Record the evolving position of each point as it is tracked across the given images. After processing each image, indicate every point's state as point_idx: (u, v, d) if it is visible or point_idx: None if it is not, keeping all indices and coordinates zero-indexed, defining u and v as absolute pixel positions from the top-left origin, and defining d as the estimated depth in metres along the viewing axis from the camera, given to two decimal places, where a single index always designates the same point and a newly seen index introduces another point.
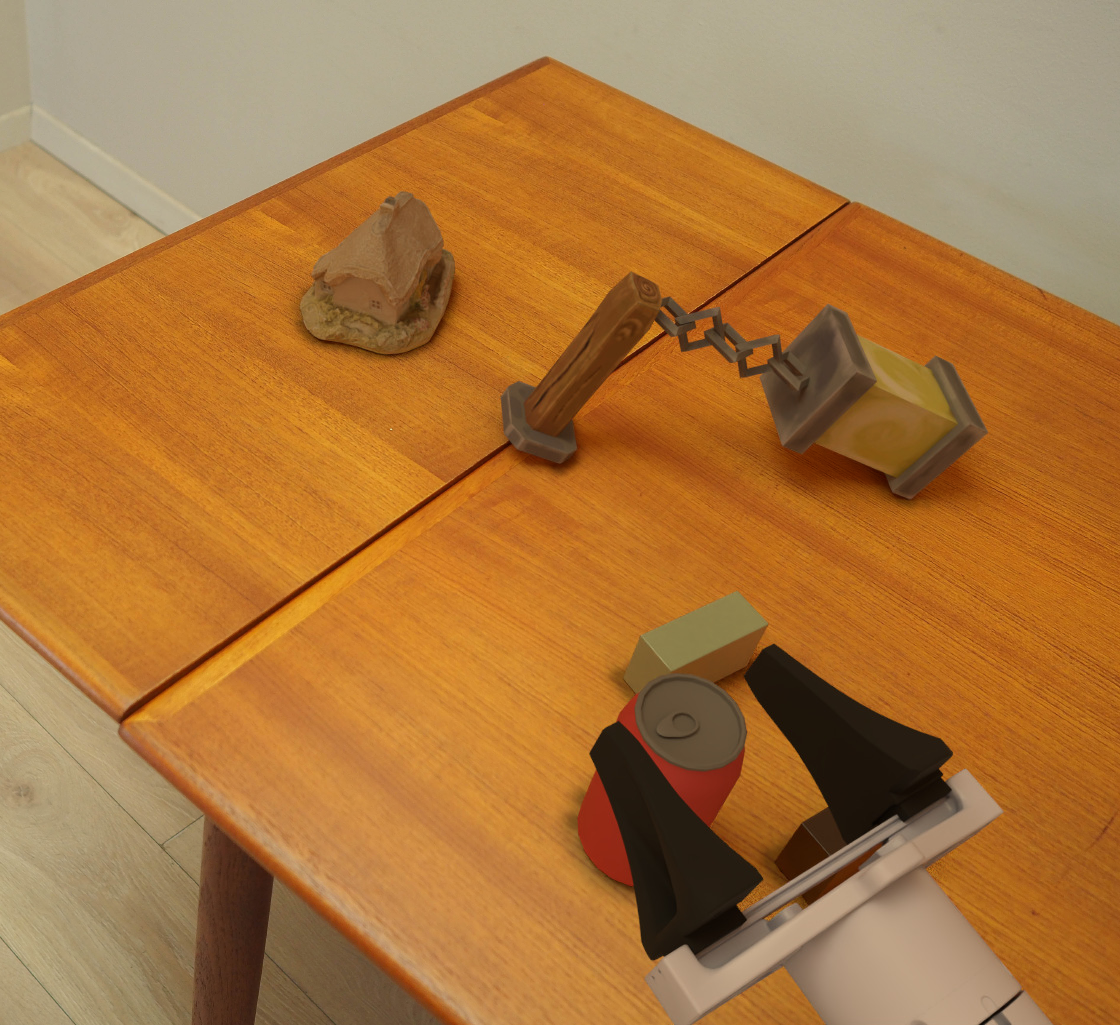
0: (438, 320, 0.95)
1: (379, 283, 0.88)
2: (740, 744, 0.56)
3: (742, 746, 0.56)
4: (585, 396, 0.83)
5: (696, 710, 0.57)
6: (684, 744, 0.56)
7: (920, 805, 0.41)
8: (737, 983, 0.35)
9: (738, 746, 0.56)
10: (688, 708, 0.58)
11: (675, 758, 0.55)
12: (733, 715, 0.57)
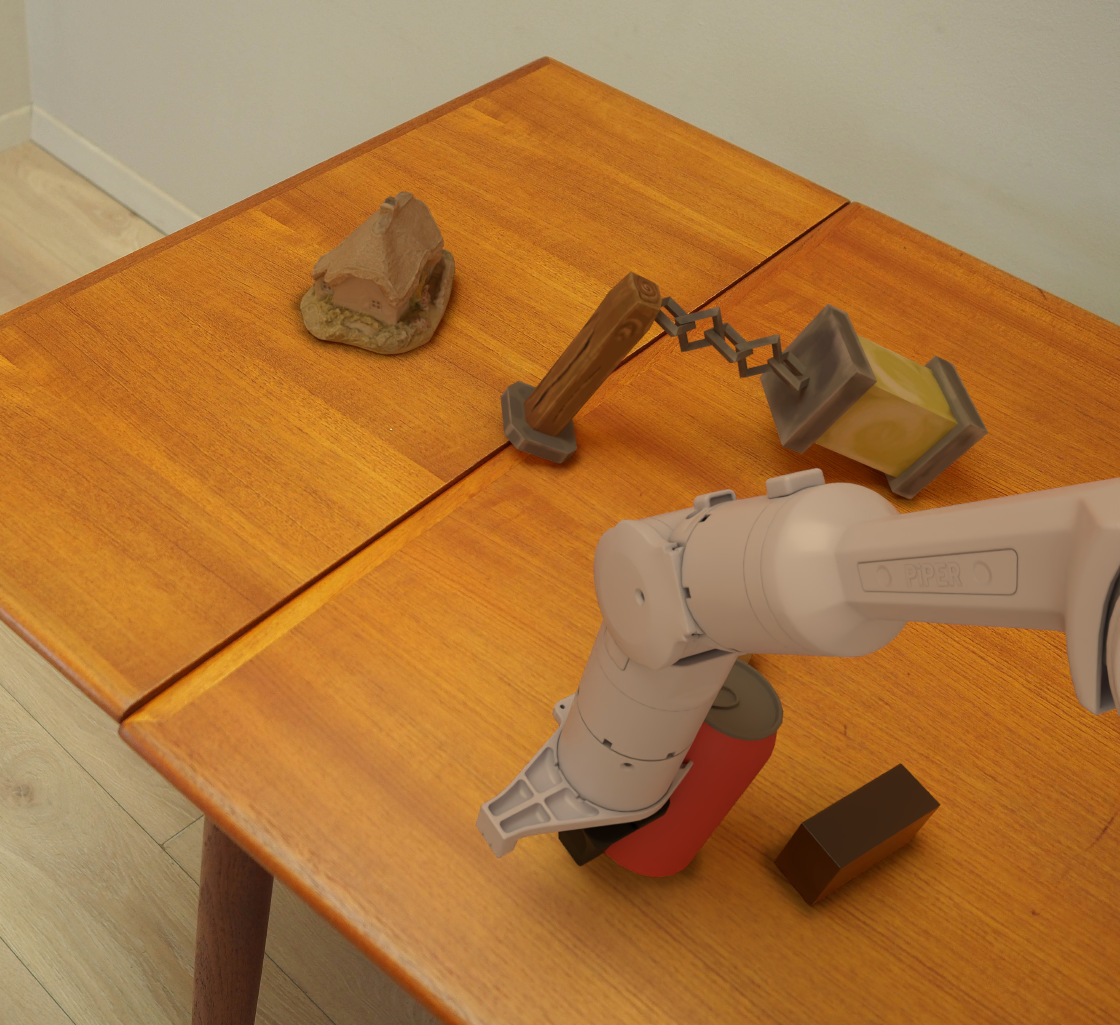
0: (438, 320, 0.95)
1: (379, 283, 0.88)
2: (778, 719, 0.57)
3: (781, 722, 0.57)
4: (585, 396, 0.83)
5: (734, 687, 0.58)
6: (726, 714, 0.57)
7: None
8: None
9: (777, 721, 0.57)
10: (727, 684, 0.58)
11: (721, 724, 0.56)
12: (768, 695, 0.59)
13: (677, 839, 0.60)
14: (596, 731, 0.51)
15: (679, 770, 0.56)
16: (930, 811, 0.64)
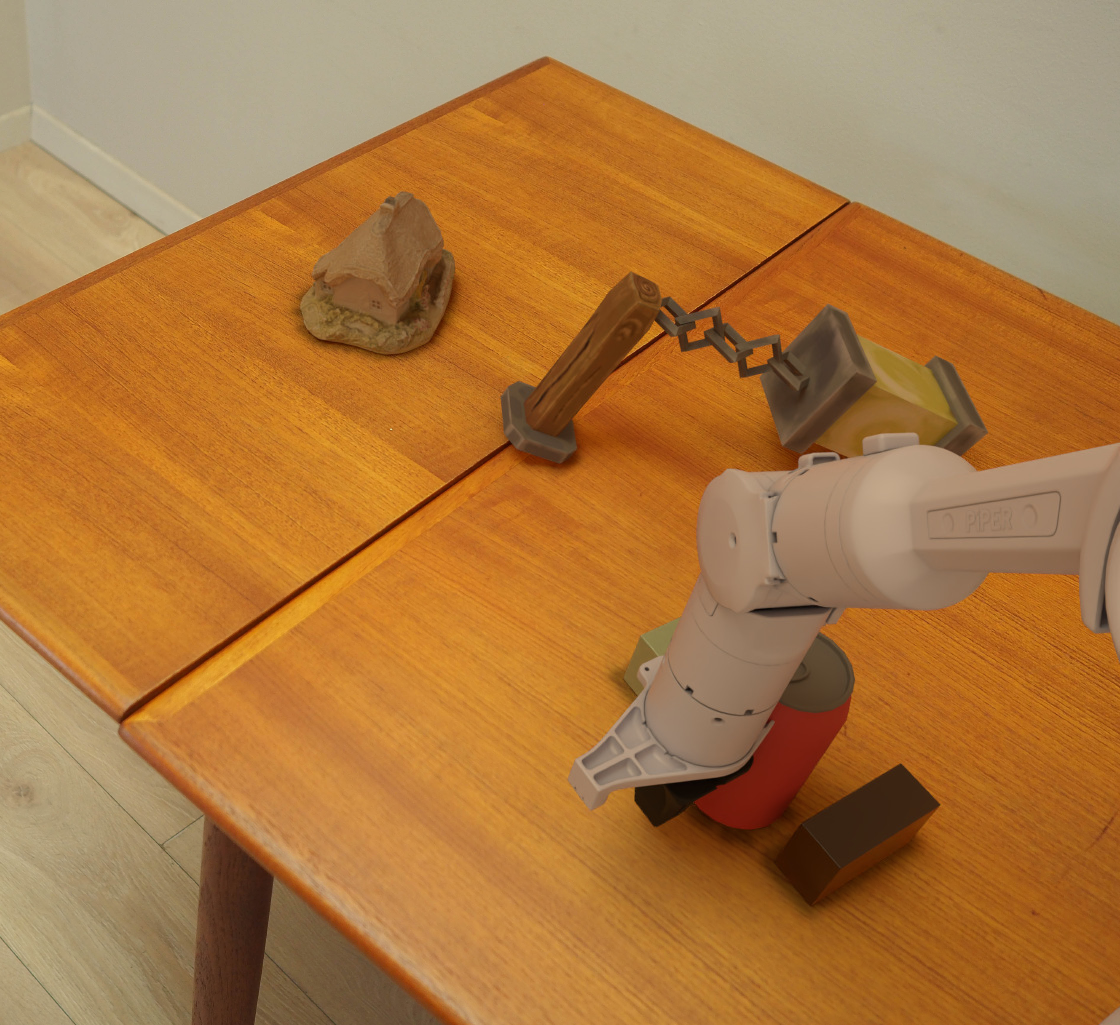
0: (438, 320, 0.95)
1: (379, 283, 0.88)
2: (849, 689, 0.59)
3: (851, 691, 0.59)
4: (585, 396, 0.83)
5: (805, 658, 0.61)
6: (795, 688, 0.59)
7: None
8: (596, 744, 0.57)
9: (847, 691, 0.59)
10: None
11: (788, 699, 0.58)
12: (841, 663, 0.61)
13: (762, 798, 0.63)
14: (680, 677, 0.54)
15: (761, 729, 0.59)
16: (930, 811, 0.64)
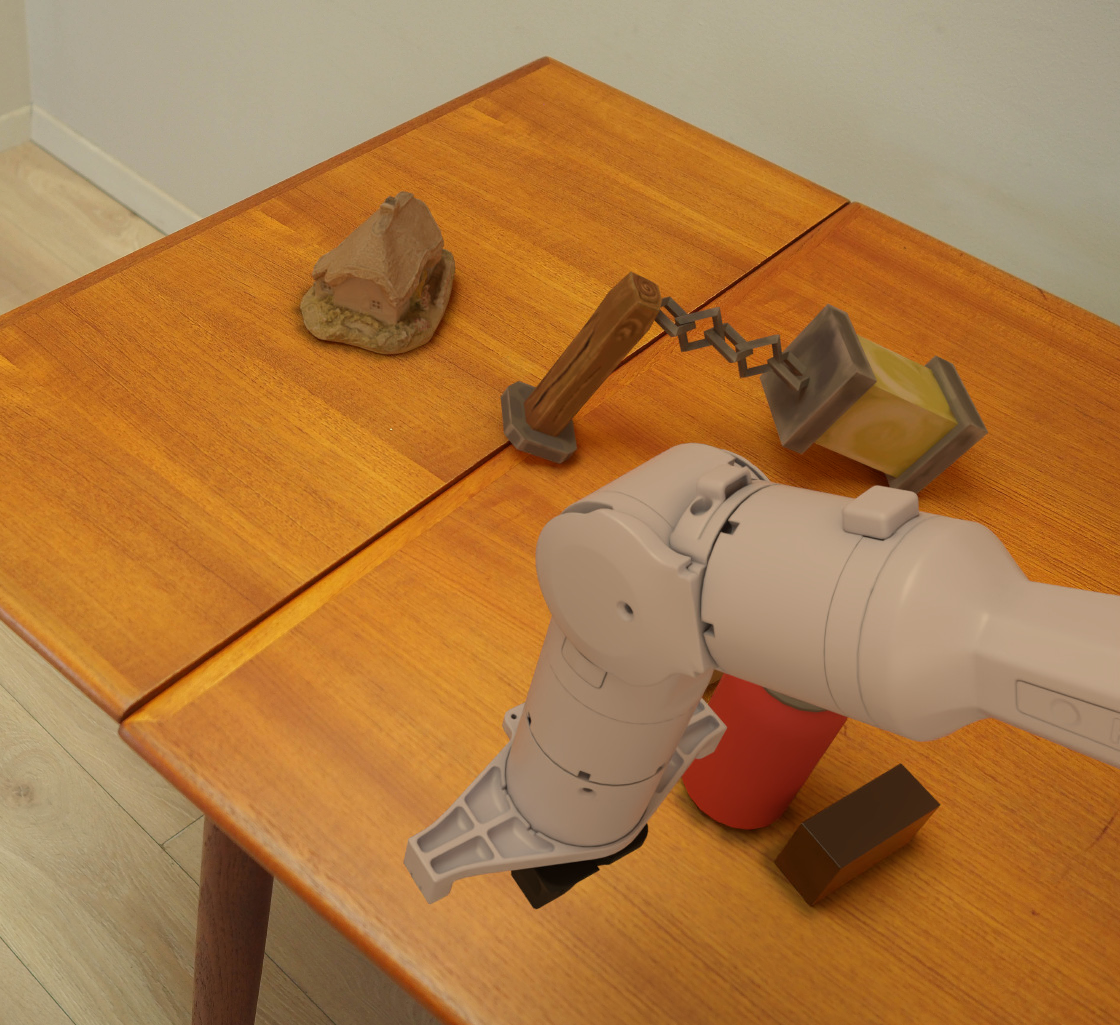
0: (438, 320, 0.95)
1: (379, 283, 0.88)
2: None
3: None
4: (585, 396, 0.83)
5: None
6: None
7: None
8: None
9: None
10: None
11: (789, 699, 0.58)
12: None
13: (763, 798, 0.63)
14: (567, 764, 0.41)
15: (655, 795, 0.46)
16: (930, 811, 0.64)
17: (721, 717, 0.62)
